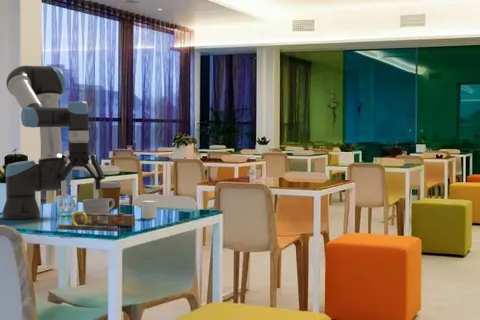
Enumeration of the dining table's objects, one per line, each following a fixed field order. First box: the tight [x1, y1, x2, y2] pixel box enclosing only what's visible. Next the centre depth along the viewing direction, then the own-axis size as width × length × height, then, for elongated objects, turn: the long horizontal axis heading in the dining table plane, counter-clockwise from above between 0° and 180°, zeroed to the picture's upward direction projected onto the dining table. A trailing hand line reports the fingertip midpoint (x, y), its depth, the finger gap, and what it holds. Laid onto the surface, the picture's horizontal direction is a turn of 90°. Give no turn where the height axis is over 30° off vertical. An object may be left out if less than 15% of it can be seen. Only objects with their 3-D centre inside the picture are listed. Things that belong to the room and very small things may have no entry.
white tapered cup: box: [140, 199, 158, 220], centre depth 295 cm, size 7×7×7 cm
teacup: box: [82, 197, 115, 214], centre depth 295 cm, size 14×11×8 cm
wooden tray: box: [58, 212, 136, 232], centre depth 270 cm, size 24×15×5 cm, turn 74°
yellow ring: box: [71, 210, 88, 226], centre depth 271 cm, size 6×3×6 cm, turn 73°
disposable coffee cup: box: [100, 181, 122, 210], centre depth 328 cm, size 10×10×12 cm
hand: (79, 198), depth 271 cm, fingers open, 13 cm apart
